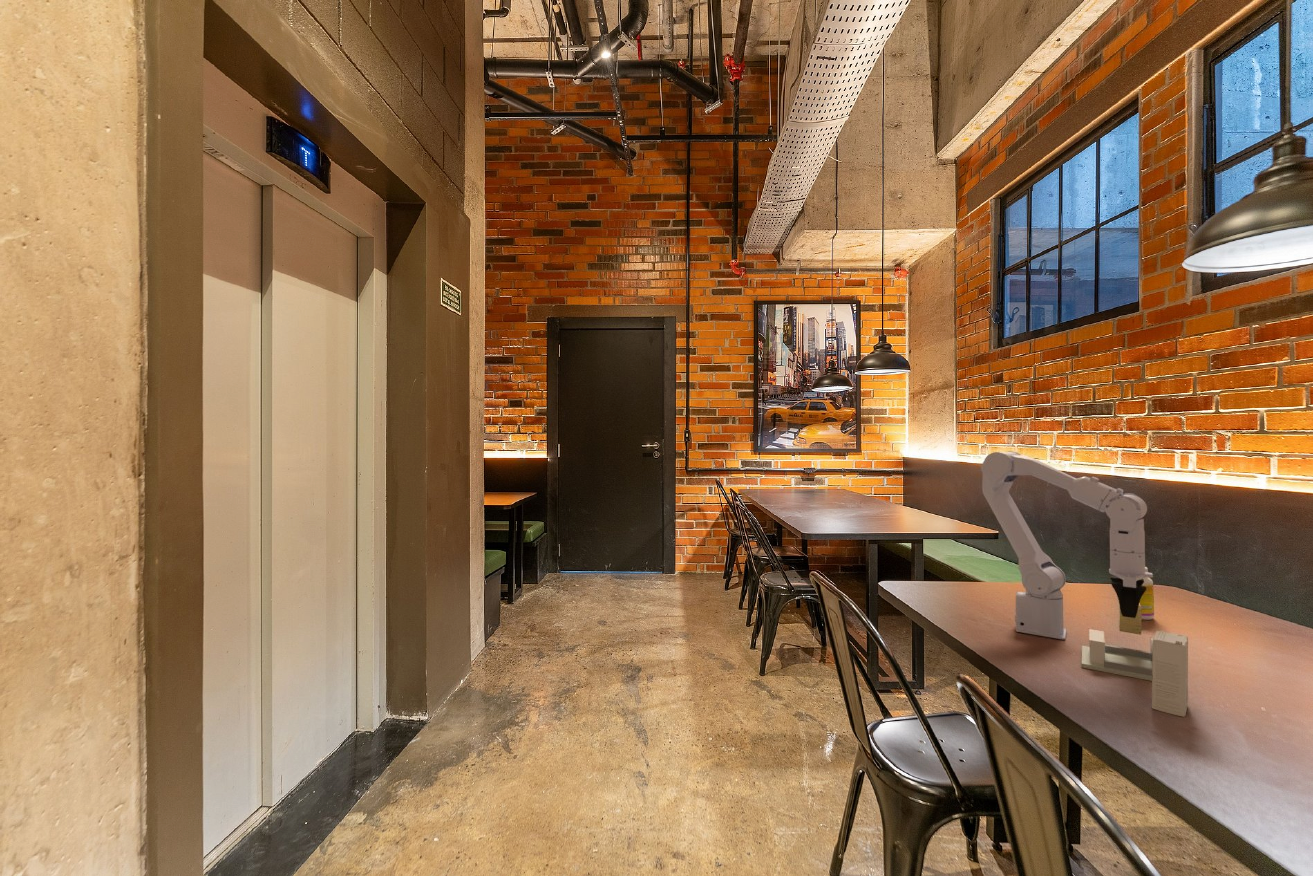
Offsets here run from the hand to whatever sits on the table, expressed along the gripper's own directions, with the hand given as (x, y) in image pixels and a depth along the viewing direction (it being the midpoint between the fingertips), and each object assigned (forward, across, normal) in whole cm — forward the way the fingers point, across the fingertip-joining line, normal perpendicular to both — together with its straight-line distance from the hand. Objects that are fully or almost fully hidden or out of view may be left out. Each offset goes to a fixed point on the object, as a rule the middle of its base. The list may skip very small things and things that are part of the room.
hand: (1128, 613), depth 117 cm
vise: (+8, -10, +1) cm, 13 cm away
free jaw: (+7, -10, -4) cm, 13 cm away
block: (+3, 0, 0) cm, 4 cm away
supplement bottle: (+8, +32, -3) cm, 33 cm away
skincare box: (+8, -28, -4) cm, 29 cm away
